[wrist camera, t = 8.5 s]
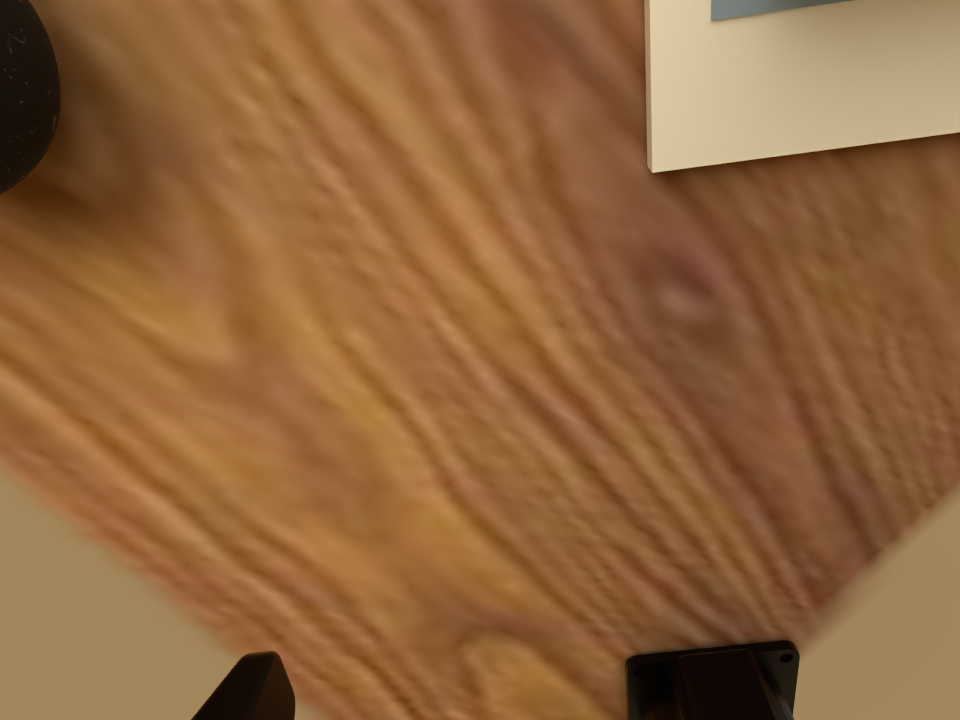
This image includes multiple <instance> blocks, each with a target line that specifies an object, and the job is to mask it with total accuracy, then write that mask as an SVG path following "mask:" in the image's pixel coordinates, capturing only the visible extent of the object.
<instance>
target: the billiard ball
mask: <svg viewBox="0 0 960 720" xmlns="http://www.w3.org/2000/svg"><path fill="white" fill-rule="evenodd" d="M59 110H60V80H59V73H58V68H57V63H56V59H55V55H54V51H53V48H52V46H51V43H50V40H49V37H48V35H47V33H46V30H45V28H44V26H43V24H42V22H41V20H40V18H39V16H38V15H37V13H36V11H35V9H34V8H33V6H32V5H31V3H30V1H29V0H0V194H2V193H4V192H5V191H7V190H9V189H10V188H12V187H13V186H14V185H16V184H17V183H18V182H20V181H21V180H22V179H23V178H24V177H26V176H27V175H28V174H29V173H30V172H31V171H32V170H33V169H34V168H35V167H36V165H37V164H38V163H39V161H40V160H41V159H42V157H43V156H44V154H45V153H46V151H47V149H48V147H49V145H50V144H51V141H52V139H53V136H54V133H55V131H56V127H57V122H58V118H59Z"/></svg>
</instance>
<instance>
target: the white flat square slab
mask: <svg viewBox="0 0 960 720" xmlns="http://www.w3.org/2000/svg"><path fill="white" fill-rule="evenodd" d="M644 12H645V66H646V119H647V167H648V168H649V169H650V170H651V172H652V173H655V172H662V171H670V170H677V169H685V168H693V167H700V166H708V165H715V164H723V163H730V162H738V161H746V160H753V159H761V158H768V157H776V156H784V155H791V154H799V153H806V152H814V151H822V150H829V149H837V148H844V147H852V146H860V145H867V144H875V143H882V142H890V141H897V140H905V139H913V138H920V137H928V136H935V135H943V134H951V133H958V132H960V0H644Z"/></svg>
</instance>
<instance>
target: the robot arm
mask: <svg viewBox="0 0 960 720" xmlns="http://www.w3.org/2000/svg"><path fill="white" fill-rule="evenodd" d="M799 659H800V656H799V652H798V650H797V648H796V646H795V644H794V643H793V642H790V641H774V642H764V643H754V644H745V645H735V646H725V647H715V648H705V649H695V650H685V651H675V652H665V653H655V654H645V655H637V656H633V657H631V658H629V659H628V660H627V661H626V664H625V671H626V691H627V712H628V720H794V718H793V708H794V699H795V690H796V683H797V675H798V667H799ZM294 717H295V696H294V692H293V689H292V686H291V683H290V681H289V678H288V676H287V673H286V671H285V668H284V665H283V663H282V660H281V658H280V656H279V655H278V654H277V653H276V652H274V651H268V652H258V653H250V654H247V655H245V656H243V657H242V658H241V659H240V660H239V661H238V662H237V663H236V665H235V666H234V667H233V668H232V670H231V671H230V672H229V673H228V675H227V676H226V677H225V678H224V680H223V681H222V682H221V683H220V685H219V686H218V687H217V688H216V690H215V691H214V692H213V693H212V694H211V696H210V697H209V698H208V700H207V701H206V702H205V703H204V704H203V706H202V707H201V708H200V709H199V710H198V712H197V713H196V714H195V715H194V717H193V718H192V719H191V720H294Z"/></svg>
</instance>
